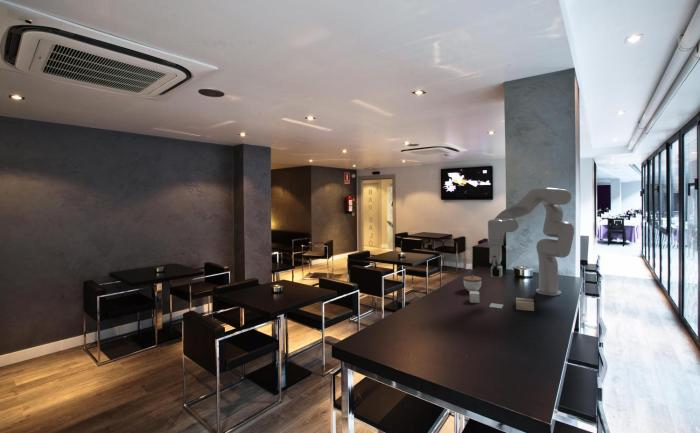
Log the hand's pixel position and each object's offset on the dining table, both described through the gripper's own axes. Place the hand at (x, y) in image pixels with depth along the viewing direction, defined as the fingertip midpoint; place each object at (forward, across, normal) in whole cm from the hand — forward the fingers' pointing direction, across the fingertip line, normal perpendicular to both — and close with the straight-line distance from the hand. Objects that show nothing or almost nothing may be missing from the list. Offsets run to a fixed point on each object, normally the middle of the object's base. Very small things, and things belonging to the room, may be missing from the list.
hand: (496, 274), depth 182 cm
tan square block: (+15, +4, +14) cm, 21 cm away
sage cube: (+1, 0, 0) cm, 1 cm away
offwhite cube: (+15, +4, -11) cm, 19 cm away
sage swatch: (+15, +8, +1) cm, 17 cm away
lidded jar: (+15, -17, -17) cm, 29 cm away
